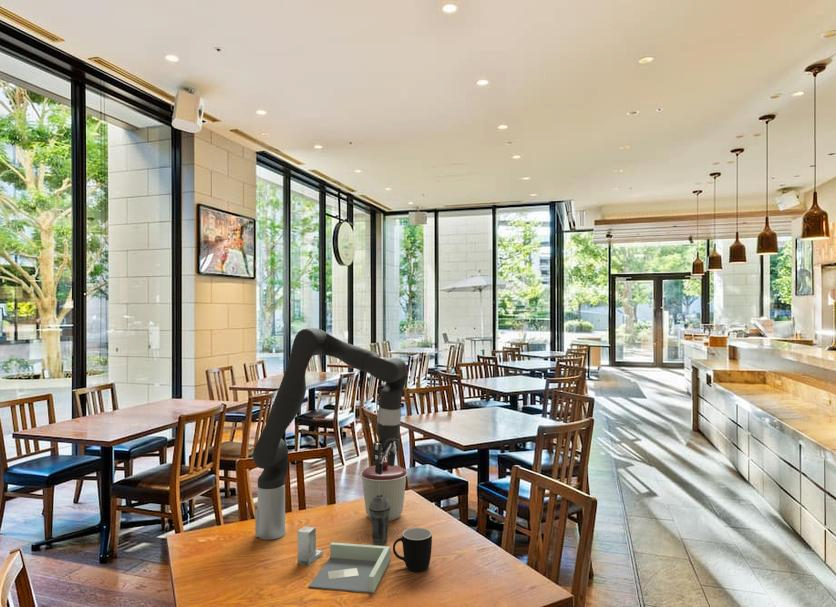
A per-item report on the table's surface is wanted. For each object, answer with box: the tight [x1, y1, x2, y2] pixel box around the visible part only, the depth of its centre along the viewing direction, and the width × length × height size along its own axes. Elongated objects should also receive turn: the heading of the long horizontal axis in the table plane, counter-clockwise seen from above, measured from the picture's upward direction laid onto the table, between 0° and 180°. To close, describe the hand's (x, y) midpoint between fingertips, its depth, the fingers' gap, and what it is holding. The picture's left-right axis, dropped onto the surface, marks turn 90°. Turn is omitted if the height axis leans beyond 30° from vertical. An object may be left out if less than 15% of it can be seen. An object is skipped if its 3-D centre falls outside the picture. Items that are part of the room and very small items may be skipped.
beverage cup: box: [369, 483, 391, 546], centre depth 176 cm, size 7×7×20 cm
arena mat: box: [308, 557, 391, 594], centre depth 154 cm, size 19×19×1 cm
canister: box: [359, 459, 409, 522], centre depth 198 cm, size 18×18×21 cm
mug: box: [392, 527, 433, 573], centre depth 158 cm, size 12×9×10 cm
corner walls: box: [329, 541, 391, 594], centre depth 155 cm, size 19×19×4 cm
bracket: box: [296, 525, 324, 567], centre depth 164 cm, size 8×4×10 cm, turn 159°
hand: (384, 469), depth 169 cm, fingers open, 8 cm apart
